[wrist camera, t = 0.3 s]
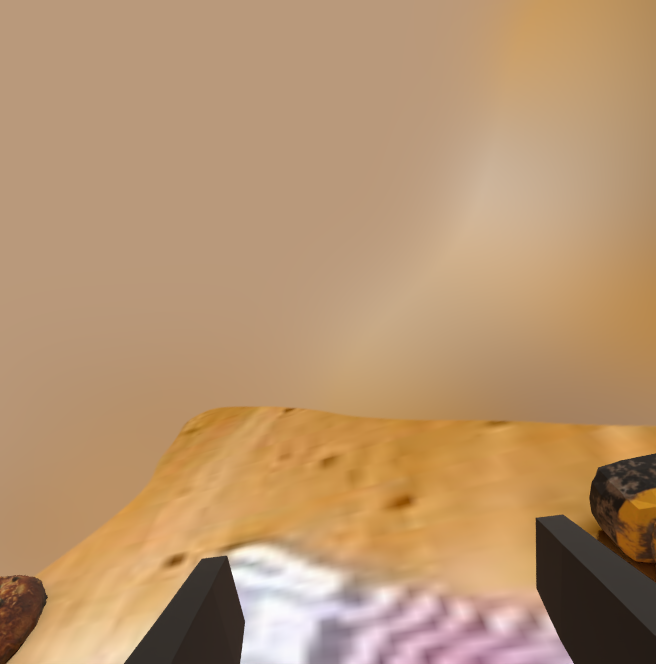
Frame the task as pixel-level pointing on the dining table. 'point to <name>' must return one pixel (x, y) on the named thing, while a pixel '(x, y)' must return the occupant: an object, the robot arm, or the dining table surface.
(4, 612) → the bread roll
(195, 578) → the robot arm
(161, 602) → the dining table surface
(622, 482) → the power drill
